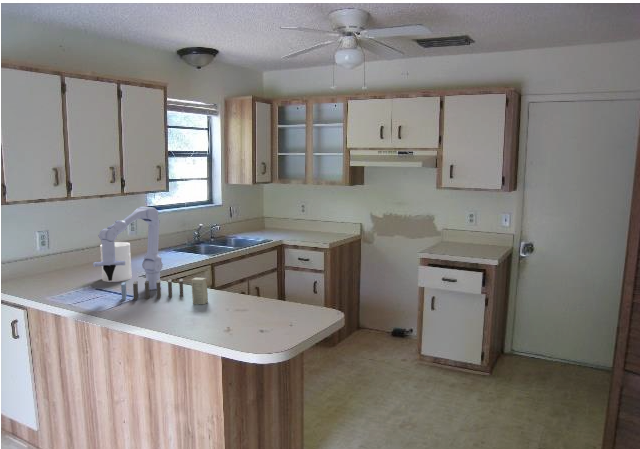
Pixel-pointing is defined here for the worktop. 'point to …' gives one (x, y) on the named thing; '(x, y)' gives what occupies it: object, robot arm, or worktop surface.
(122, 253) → the canister
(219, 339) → the worktop surface
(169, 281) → the domino
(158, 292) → the domino
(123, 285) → the domino
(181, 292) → the domino
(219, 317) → the worktop surface
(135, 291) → the domino
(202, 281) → the skincare box
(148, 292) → the domino
